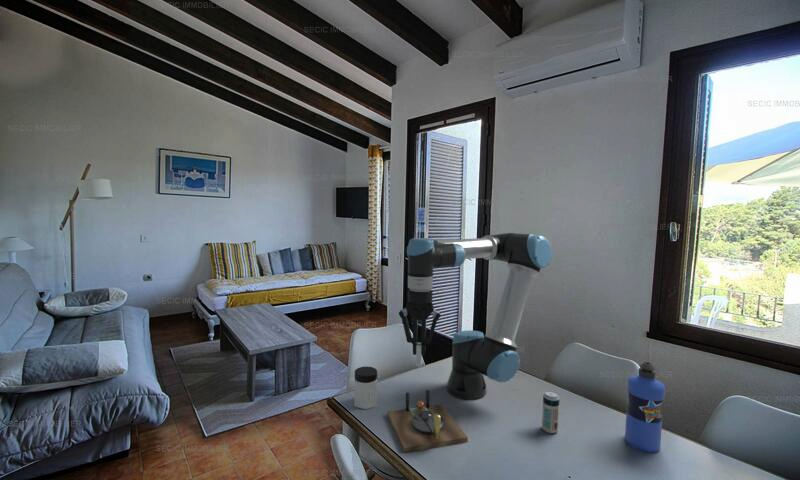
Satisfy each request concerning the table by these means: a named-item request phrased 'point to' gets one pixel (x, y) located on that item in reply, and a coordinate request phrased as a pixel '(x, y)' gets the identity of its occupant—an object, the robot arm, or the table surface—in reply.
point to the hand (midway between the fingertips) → (418, 364)
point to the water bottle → (644, 410)
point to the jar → (365, 387)
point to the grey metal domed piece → (427, 421)
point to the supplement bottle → (550, 412)
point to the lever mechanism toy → (421, 441)
